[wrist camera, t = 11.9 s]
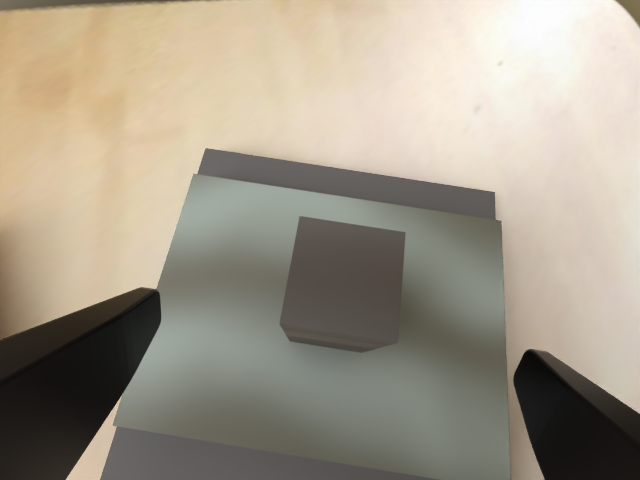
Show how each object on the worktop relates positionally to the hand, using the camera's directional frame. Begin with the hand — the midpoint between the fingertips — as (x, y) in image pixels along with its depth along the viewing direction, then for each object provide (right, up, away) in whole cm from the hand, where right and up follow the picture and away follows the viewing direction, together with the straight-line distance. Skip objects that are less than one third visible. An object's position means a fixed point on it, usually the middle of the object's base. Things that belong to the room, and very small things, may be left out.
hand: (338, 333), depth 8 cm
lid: (0, -1, +8) cm, 8 cm away
